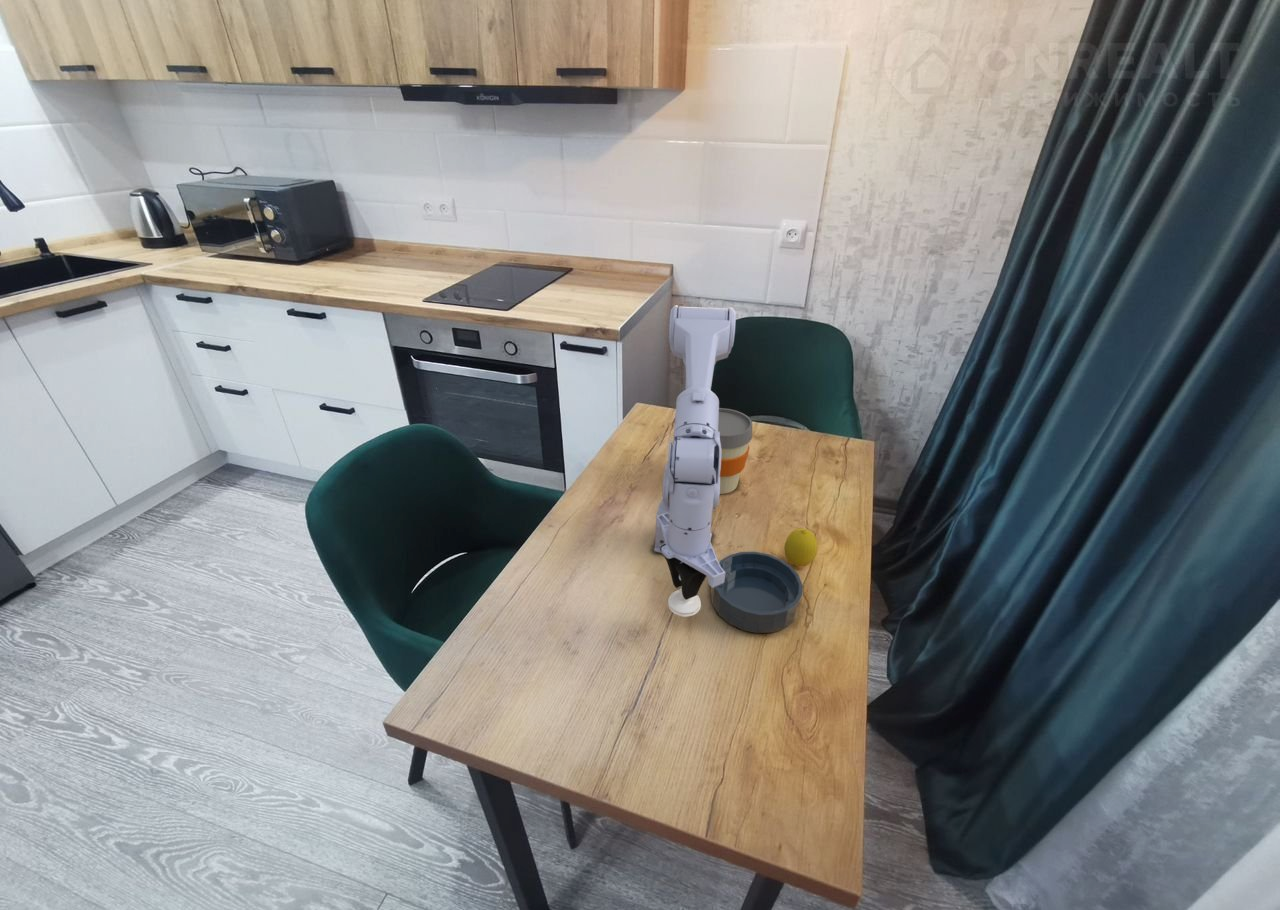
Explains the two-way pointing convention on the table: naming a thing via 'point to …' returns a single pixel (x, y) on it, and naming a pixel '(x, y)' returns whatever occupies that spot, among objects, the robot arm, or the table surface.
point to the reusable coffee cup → (733, 446)
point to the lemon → (801, 547)
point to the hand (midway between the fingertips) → (685, 590)
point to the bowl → (757, 592)
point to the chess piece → (683, 604)
